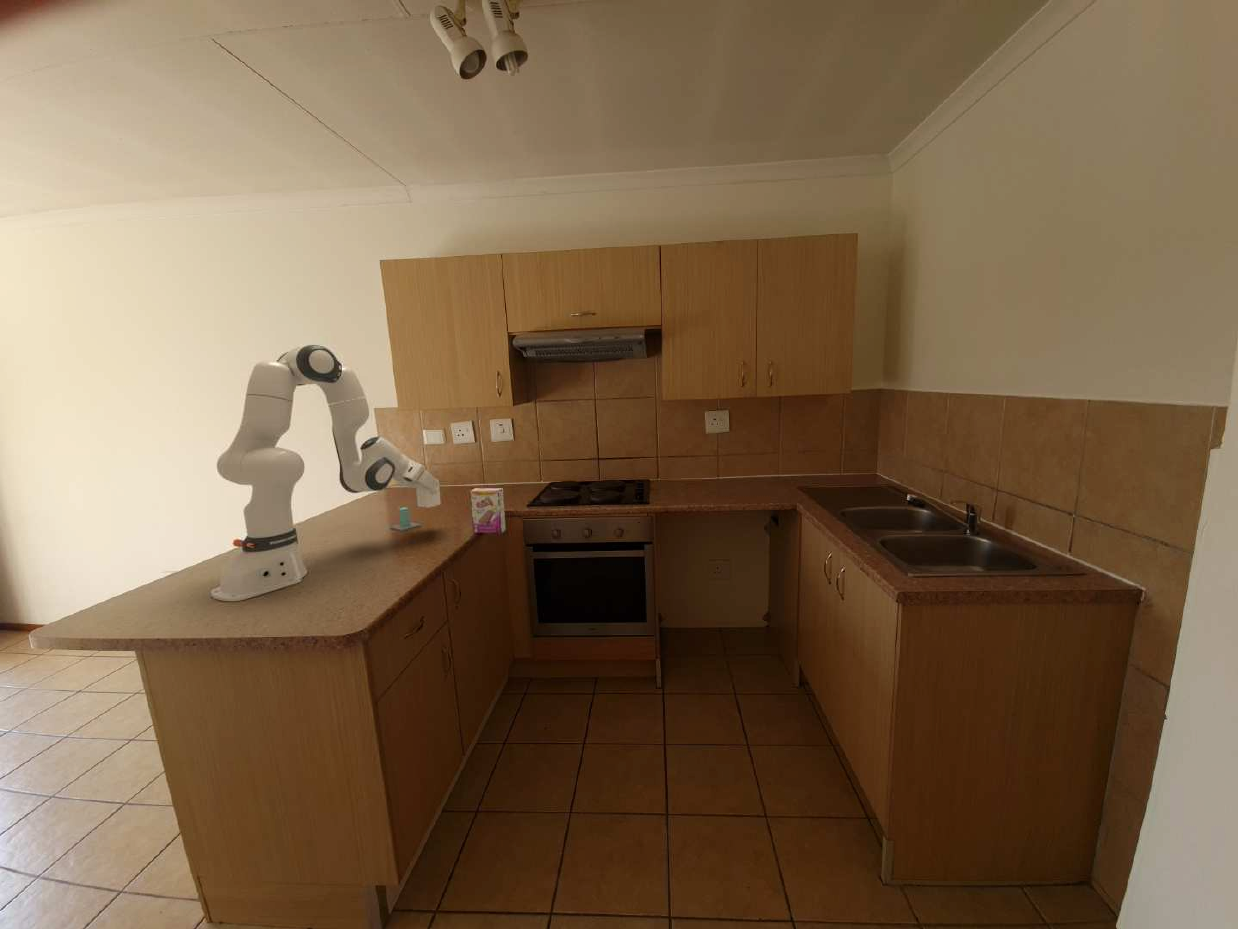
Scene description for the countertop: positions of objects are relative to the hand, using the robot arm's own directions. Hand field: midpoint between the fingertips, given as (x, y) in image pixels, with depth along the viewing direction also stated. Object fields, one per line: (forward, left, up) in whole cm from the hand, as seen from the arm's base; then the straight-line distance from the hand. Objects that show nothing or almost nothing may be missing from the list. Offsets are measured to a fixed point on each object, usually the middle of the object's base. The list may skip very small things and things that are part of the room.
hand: (429, 492), depth 182 cm
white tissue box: (-1, 0, -5) cm, 5 cm away
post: (0, +14, -15) cm, 21 cm away
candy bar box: (+7, -22, -16) cm, 27 cm away
